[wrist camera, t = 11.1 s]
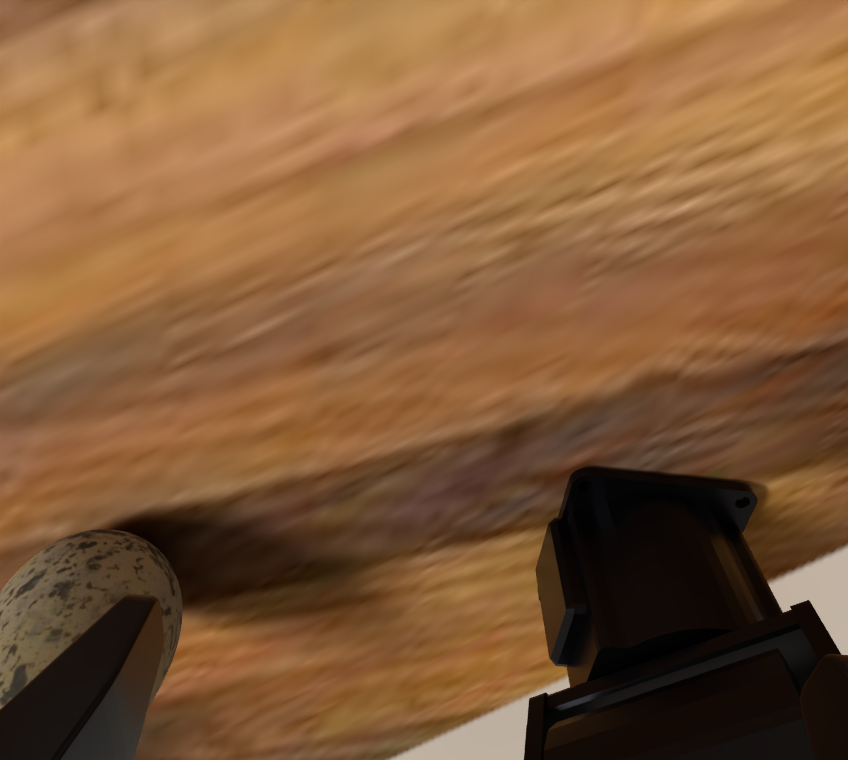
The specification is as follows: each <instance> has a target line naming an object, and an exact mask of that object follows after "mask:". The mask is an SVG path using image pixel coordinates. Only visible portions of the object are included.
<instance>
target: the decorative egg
mask: <svg viewBox="0 0 848 760" xmlns="http://www.w3.org/2000/svg"><path fill="white" fill-rule="evenodd" d="M128 594H141V595H153V596H156V597H157V598H158V599H159V601H160V605H161V613H162V621H163V629H164V648H163V653H162V657H161V661H160V664H159V668H158V672H157V675H156V679H155V683H154V686H153V690H152V694H151V697H150V701H149V705H148V707H149V706H150V704H151V702H152V701H153V699H154V697H155V695H156V693H157V691H158V690H159V688H160V686H161V684H162V682H163V680H164V678H165V676H166V674H167V672H168V669H169V667H170V665H171V662H172V660H173V657H174V654H175V651H176V648H177V644H178V640H179V636H180V631H181V624H182V596H181V590H180V586H179V583H178V579H177V577H176V574H175V572H174V570H173V568H172V566H171V565H170V563H169V561H168V560H167V558H166V557H165V556H164V555H163V554H162V553H161V552H160V551H159V550H158V549H157V548H156V547H155V546H154V545H153V544H151V543H150V542H148V541H147V540H145V539H143V538H142V537H139V536H137V535H134V534H131V533H128V532H124V531H118V530H109V529H100V530H90V531H85V532H81V533H77V534H74V535H71V536H68V537H66V538H64V539H61V540H59V541H57V542H55V543H53V544H51V545H49V546H48V547H46V548H45V549H43V550H42V551H40V552H39V553H38V554H36V555H35V556H33V557H32V558H31V559H30V560H29V561H28V562H26V563H25V564H24V565H23V566H22V567H21V568H20V569H19V570H18V571H17V572H16V573H15V574H14V575H13V577H12V578H11V579H10V580H9V582H8V583H7V584H6V585H5V587H4V588H3V589H2V591H1V592H0V709H1V708H2V707H3V706H4V705H5V704H6V703H8V702H9V701H10V700H11V699H12V698H13V697H14V696H15V695H16V694H17V693H18V692H19V691H21V690H22V689H23V688H24V687H25V686H26V685H27V684H28V683H29V682H30V681H31V680H33V679H34V678H35V677H36V676H37V675H38V674H39V673H40V672H41V671H42V670H43V669H44V668H46V667H47V666H48V665H49V664H50V663H51V662H52V661H53V660H54V659H55V658H56V657H58V656H59V655H60V654H61V653H62V652H63V651H64V650H65V649H66V648H67V647H68V646H69V645H71V644H72V643H73V642H74V641H75V640H76V639H77V638H78V637H79V636H80V635H81V634H83V633H84V632H85V631H86V630H87V629H88V628H89V627H90V626H91V625H92V624H93V623H94V622H96V621H97V620H98V619H99V618H100V617H101V616H102V615H103V614H104V613H105V612H106V611H107V610H109V609H110V608H111V607H112V606H113V605H114V604H115V603H116V602H117V601H118V600H119V599H121V598H122V597H123V596H125V595H128ZM147 709H148V708H147Z"/></svg>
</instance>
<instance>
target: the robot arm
mask: <svg viewBox="0 0 848 760" xmlns="http://www.w3.org/2000/svg"><path fill="white" fill-rule="evenodd" d="M586 481H588V482H590V483H588V484H587V485H580V483H582V482H586ZM740 497H744V498H743V499H741V500H737V499H738V498H740ZM756 504H757V497H756V495H755V493H754V491H753V490H752V488H751V487H750V486H749V485H746V484H740V483H730V482H720V481H709V480H699V479H689V478H679V477H669V476H659V475H649V474H639V473H629V472H619V471H609V470H599V469H588V468H585V469H579V470H576V471H575V472H574V473H572V474H571V476H570V478H569V481H568V485H567V488H566V492H565V495H564V499H563V502H562V505H561V509H560V512H559V516H558V518H554V519H553V520H552V521H551V522H550V523H549V524H548V527H547V531H546V535H545V538H544V542H543V545H542V549H541V552H540V556H539V559H538V563H537V567H536V577H537V583H538V596H539V600H540V602H541V608H542V614H543V621H544V627H545V633H546V640H547V646H548V652H549V658H550V659H551V661H552V662H553V663H554V664H555V665H556V666H564V667H567V672H568V677H569V683H570V688H567V689H564V690H561V691H559V692H556V693H553V694H550V695H548V694H547V693H543V694H540V695H538V696H535V697H532V698H530V699H529V708H528V721H527V728H526V742H525V754H524V755H525V756H524V760H848V655H841V653H840V652H839V650H838V648H837V646H836V645H835V643H834V641H833V640H832V638H831V636H830V635H829V633H828V631H827V630H826V628H825V626H824V624H823V623H822V621H821V620H820V618H819V616H818V614H817V613H816V611H815V609H814V608H813V606H812V604H811V602H810V601H809V600H807V601H804V602H802V603H799V604H796V605H793V606H790V607H791V609H792V610H789V611H787V612H784V613H783V612H782V610H781V608H780V607H779V604H778V602H777V600H776V599H775V597H774V595H773V593H772V591H771V589H770V587H769V585H768V583H767V581H766V579H765V577H764V575H763V573H762V571H761V569H760V567H759V566H758V564H757V562H756V560H755V558H754V556H753V554H752V552H751V550H750V548H749V546H748V544H747V542H746V540H745V538H744V536H743V535H742V533H743V531H744V529H745V527H746V525H747V523H748V520H749V518H750V516H751V514H752V512H753V510H754V508H755V506H756ZM163 648H164V629H163V621H162V613H161V605H160V601H159V599H158V598H157V597H156V596H153V595H141V594H128V595H125V596H123V597H122V598H121V599H119V600H118V601H117V602H116V603H115V604H114V605H113V606H112V607H111V608H110V609H109V610H107V611H106V612H105V613H104V614H103V615H102V616H101V617H100V618H99V619H98V620H97V621H96V622H94V623H93V624H92V625H91V626H90V627H89V628H88V629H87V630H86V631H85V632H84V633H83V634H81V635H80V636H79V637H78V638H77V639H76V640H75V641H74V642H73V643H72V644H71V645H69V646H68V647H67V648H66V649H65V650H64V651H63V652H62V653H61V654H60V655H59V656H58V657H56V658H55V659H54V660H53V661H52V662H51V663H50V664H49V665H48V666H47V667H46V668H44V669H43V670H42V671H41V672H40V673H39V674H38V675H37V676H36V677H35V678H34V679H33V680H31V681H30V682H29V683H28V684H27V685H26V686H25V687H24V688H23V689H22V690H21V691H19V692H18V693H17V694H16V695H15V696H14V697H13V698H12V699H11V700H10V701H9V702H8V703H6V704H5V705H4V706H3V707H2V708H1V709H0V760H133V759H134V756H135V752H136V749H137V745H138V741H139V738H140V734H141V730H142V727H143V723H144V719H145V716H146V712H147V708H148V705H149V701H150V697H151V694H152V690H153V686H154V683H155V679H156V675H157V672H158V668H159V664H160V661H161V657H162V653H163Z"/></svg>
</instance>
